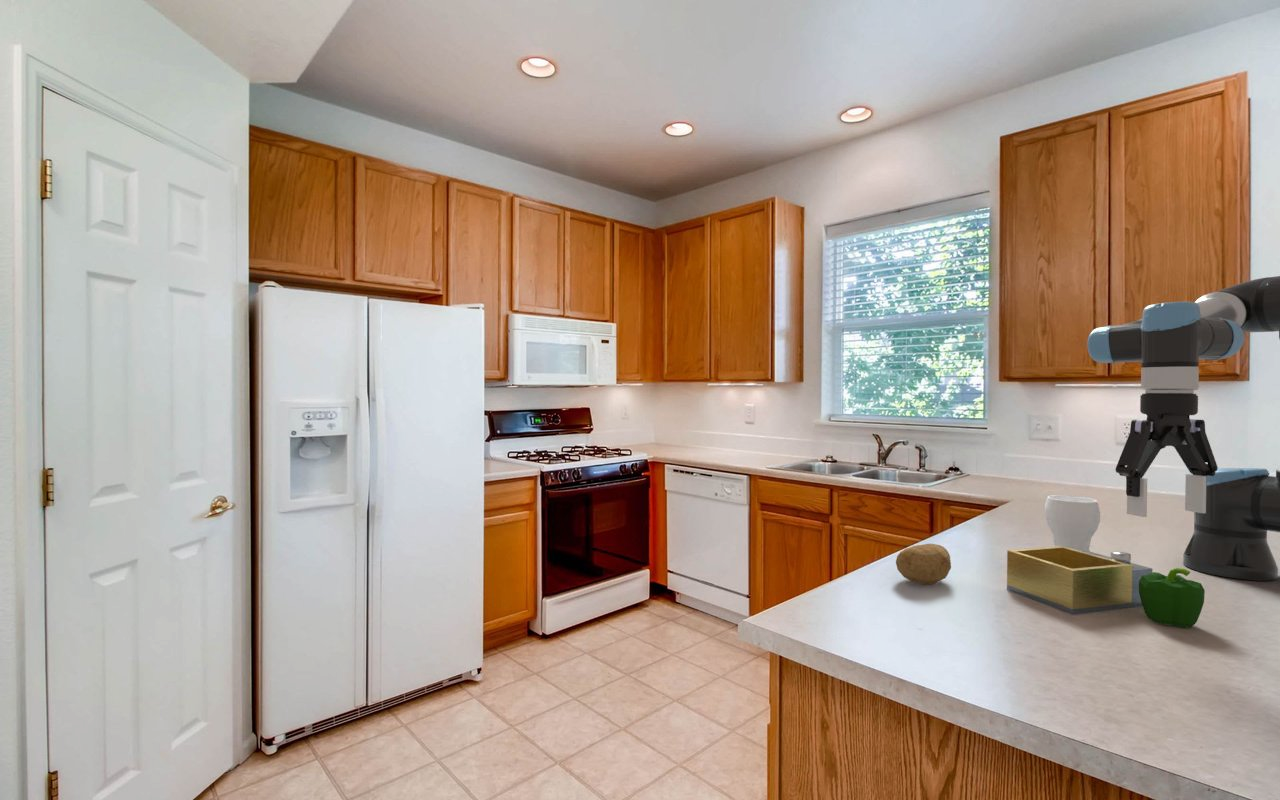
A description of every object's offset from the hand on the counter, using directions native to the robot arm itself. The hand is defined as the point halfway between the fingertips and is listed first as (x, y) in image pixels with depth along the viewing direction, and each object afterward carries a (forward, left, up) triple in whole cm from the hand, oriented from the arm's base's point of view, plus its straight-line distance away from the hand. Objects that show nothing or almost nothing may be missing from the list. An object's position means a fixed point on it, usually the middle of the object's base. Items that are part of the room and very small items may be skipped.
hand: (1166, 513), depth 104 cm
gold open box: (+3, -14, -19) cm, 24 cm away
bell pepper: (0, 0, -19) cm, 19 cm away
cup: (-18, -33, -19) cm, 42 cm away
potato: (+26, -29, -19) cm, 43 cm away
